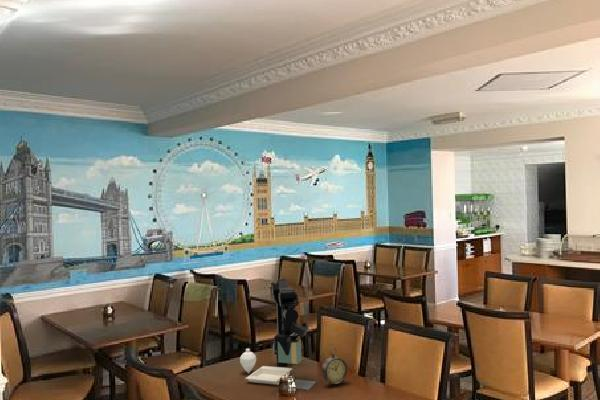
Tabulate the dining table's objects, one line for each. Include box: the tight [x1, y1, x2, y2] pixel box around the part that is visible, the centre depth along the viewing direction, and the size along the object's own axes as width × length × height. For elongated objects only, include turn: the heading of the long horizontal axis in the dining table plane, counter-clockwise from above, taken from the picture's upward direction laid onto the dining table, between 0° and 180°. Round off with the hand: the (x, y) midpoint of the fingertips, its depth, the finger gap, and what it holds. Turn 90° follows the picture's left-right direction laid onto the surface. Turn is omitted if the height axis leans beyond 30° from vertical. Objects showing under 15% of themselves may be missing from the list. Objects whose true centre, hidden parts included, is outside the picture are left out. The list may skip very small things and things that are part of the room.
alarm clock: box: [321, 346, 348, 388], centre depth 216 cm, size 11×5×16 cm, turn 117°
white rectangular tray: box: [245, 365, 293, 386], centre depth 225 cm, size 18×15×3 cm
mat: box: [294, 379, 317, 392], centre depth 216 cm, size 10×10×1 cm
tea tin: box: [278, 339, 302, 365], centre depth 219 cm, size 5×9×9 cm, turn 67°
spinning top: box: [239, 348, 257, 374], centre depth 234 cm, size 8×8×12 cm
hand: (289, 353), depth 219 cm, fingers closed on tea tin, 5 cm apart
